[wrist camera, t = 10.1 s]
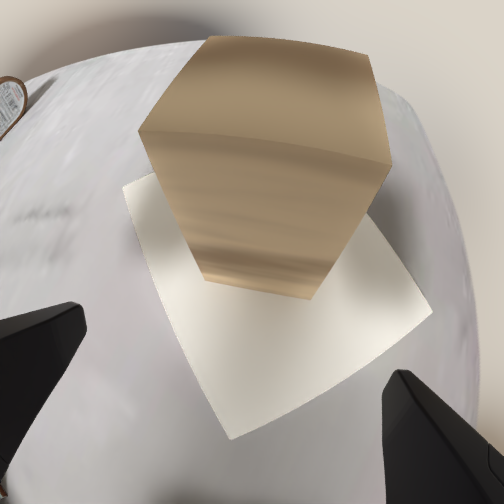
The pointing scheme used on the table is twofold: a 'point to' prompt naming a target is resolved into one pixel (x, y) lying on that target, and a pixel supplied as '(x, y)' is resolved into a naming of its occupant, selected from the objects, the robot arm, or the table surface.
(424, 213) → the table surface
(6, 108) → the tin
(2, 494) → the food container
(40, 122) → the table surface
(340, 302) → the cutting board
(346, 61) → the wooden block
